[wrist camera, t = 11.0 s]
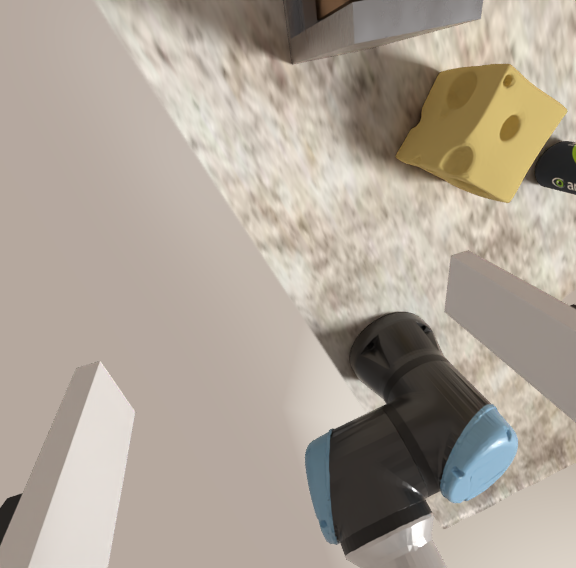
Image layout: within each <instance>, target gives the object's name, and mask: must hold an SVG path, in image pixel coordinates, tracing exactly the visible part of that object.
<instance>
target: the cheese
mask: <svg viewBox="0 0 576 568" xmlns="http://www.w3.org/2000/svg"><path fill="white" fill-rule="evenodd" d="M566 113H567V109H566V108H565V107H564V106H563V105H561V104H560V103H559V102H558V101H556V100H555V99H553V98H552V97H550V96H549V95H547V94H546V93H544V92H543V91H541V90H540V89H538V88H537V87H535V86H534V85H533V84H532V83H530V82H529V81H528V80H527V79H526V78H525V77H524V76H523V75H522V74H521V73H520V72H519V71H517V70H516V69H515V68H514V67H513V66H512V65H510V64H490V65H482V66H471V67H462V68H456V69H450V70H446V71H443V72H440V73H439V74H438V76H437V78H436V80H435V82H434V84H433V86H432V88H431V90H430V92H429V94H428V97H427V99H426V101H425V103H424V105H423V107H422V112H421V115H422V117H421V120H420V122H419V124H418V125H417V126H416V127H415V128H412V129H411V130H410V131H409V133H408V135H407V137H406V138H405V140H404V142H403V144H402V146H401V147H400V149H399V150H398V152H397V154H396V158H397V159H399V160H400V161H402V162H404V163H406V164H409V165H413V166H417V167H419V168H421V169H423V170H425V171H427V172H429V173H431V174H433V175H435V176H437V177H439V178H441V179H443V180H445V181H447V182H448V183H450V184H452V185H454V186H456V187H458V188H460V189H462V190H465V191H467V192H470V193H473V194H475V195H478V196H481V197H484V198H488V199H492V200H496V201H500V202H505V203H509V202H510V201H511V200H512V198H513V197H514V195H515V193H516V191H517V190H518V188H519V186H520V184H521V182H522V180H523V179H524V177H525V175H526V173H527V172H528V170H529V168H530V167H531V165H532V163H533V162H534V160H535V159H536V157H537V156H538V154H539V152H540V151H541V149H542V148H543V146H544V145H545V143H546V142H547V140H548V139H549V137H550V136H551V134H552V133H553V131H554V130H555V128H556V127H557V126H558V124H559V123H560V121H561V120H562V118H563V117H564V116H565V114H566Z"/></svg>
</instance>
